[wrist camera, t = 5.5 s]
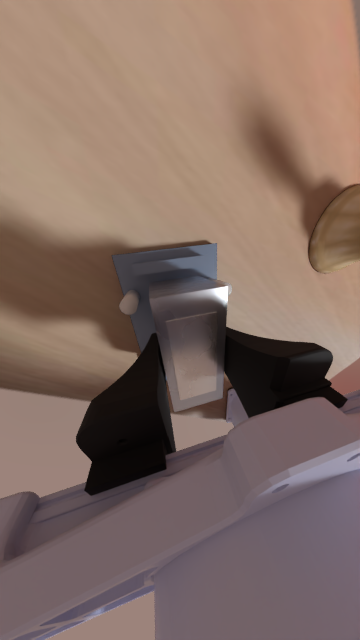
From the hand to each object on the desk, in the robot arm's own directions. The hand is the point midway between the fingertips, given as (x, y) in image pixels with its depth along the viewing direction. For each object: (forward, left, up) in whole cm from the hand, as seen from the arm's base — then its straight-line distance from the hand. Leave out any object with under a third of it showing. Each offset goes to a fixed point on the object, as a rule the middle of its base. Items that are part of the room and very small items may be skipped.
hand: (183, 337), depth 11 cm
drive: (0, 0, -2) cm, 2 cm away
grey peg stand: (0, 0, -4) cm, 4 cm away
